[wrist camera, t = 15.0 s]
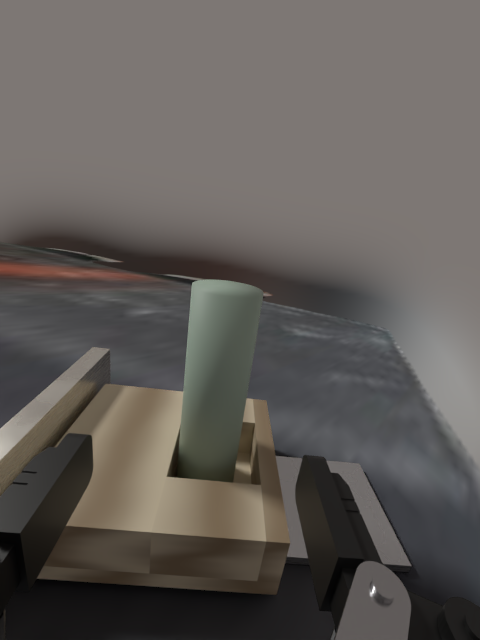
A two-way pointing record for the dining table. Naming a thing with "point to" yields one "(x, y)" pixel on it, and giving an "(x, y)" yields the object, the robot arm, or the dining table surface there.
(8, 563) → the robot arm
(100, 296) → the dining table surface
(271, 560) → the socket block
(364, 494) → the rail base
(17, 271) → the dining table surface
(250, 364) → the dowel
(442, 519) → the dining table surface
